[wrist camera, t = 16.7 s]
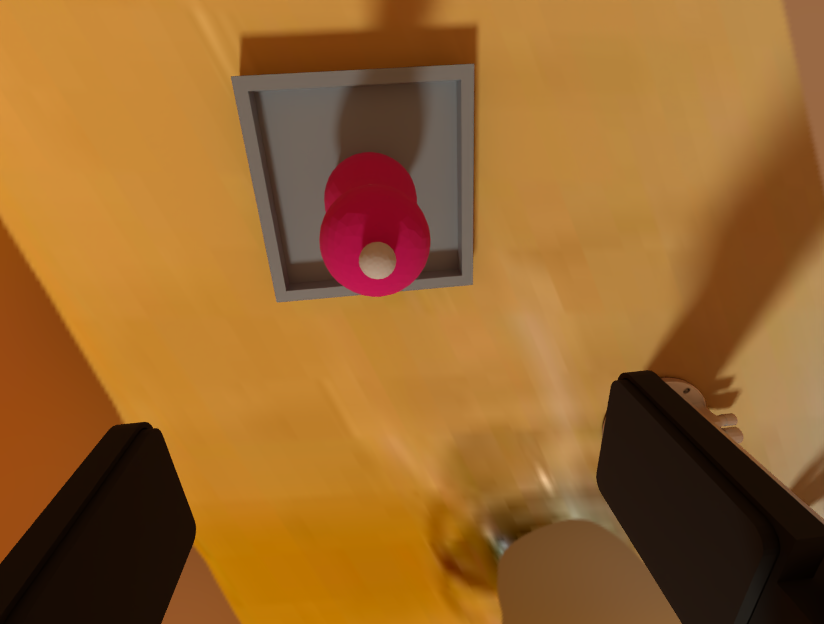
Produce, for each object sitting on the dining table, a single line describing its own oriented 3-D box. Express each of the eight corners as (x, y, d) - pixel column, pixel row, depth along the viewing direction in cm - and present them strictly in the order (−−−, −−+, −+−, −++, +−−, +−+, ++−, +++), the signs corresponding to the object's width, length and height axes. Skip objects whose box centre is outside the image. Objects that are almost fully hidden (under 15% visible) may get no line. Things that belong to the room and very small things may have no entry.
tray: (467, 66, 35) (474, 63, 33) (466, 275, 43) (472, 284, 41) (239, 78, 34) (230, 76, 32) (281, 291, 42) (276, 302, 39)
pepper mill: (335, 137, 36) (310, 166, 18) (420, 159, 37) (475, 206, 19) (321, 222, 39) (287, 322, 21) (400, 240, 40) (432, 347, 22)
